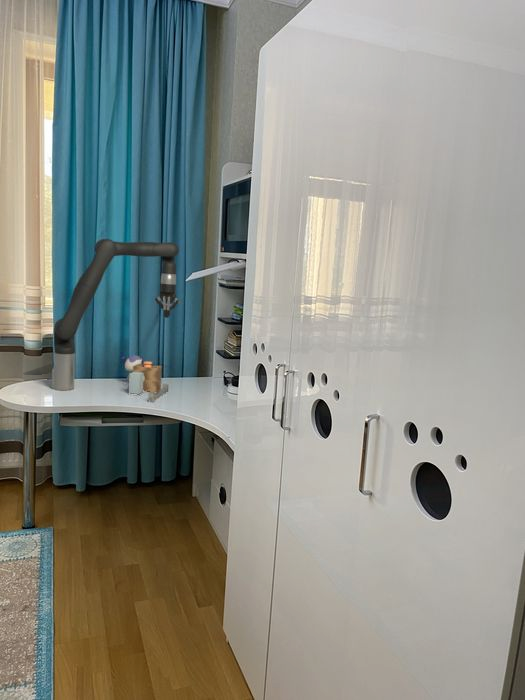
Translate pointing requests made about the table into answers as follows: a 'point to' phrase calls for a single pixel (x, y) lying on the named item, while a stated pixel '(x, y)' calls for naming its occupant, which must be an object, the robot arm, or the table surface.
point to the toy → (132, 363)
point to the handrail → (158, 393)
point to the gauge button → (147, 364)
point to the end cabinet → (150, 377)
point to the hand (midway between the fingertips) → (166, 317)
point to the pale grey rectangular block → (136, 383)
